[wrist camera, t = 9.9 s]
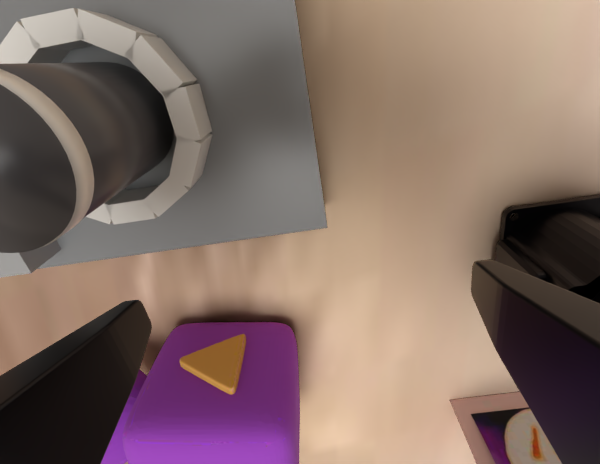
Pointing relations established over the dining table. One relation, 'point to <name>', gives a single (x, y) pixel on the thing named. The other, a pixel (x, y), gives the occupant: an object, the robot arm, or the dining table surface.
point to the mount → (187, 121)
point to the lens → (72, 144)
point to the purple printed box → (503, 430)
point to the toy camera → (215, 399)
